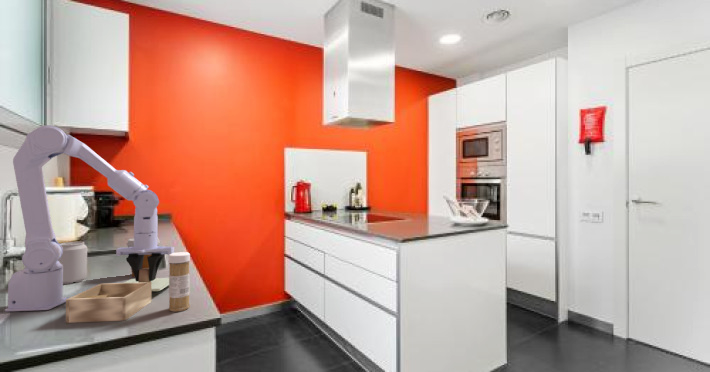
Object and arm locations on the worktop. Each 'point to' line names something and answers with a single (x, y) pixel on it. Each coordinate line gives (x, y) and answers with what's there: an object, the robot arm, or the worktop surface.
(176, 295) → the sprinkles bottle
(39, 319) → the worktop surface
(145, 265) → the disposable coffee cup
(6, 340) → the worktop surface
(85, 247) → the can
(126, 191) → the robot arm
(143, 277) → the lid
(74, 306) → the box
